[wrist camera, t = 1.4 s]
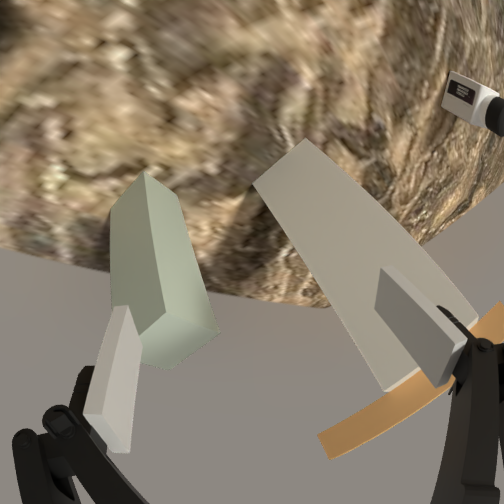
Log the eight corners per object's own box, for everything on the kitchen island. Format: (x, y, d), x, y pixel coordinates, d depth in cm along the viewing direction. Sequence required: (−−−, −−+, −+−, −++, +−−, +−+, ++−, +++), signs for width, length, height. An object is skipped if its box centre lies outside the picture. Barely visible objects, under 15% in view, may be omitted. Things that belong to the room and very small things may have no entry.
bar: (317, 434, 26) (329, 460, 24) (499, 300, 21) (518, 324, 19) (328, 432, 28) (340, 455, 26) (496, 309, 23) (512, 331, 21)
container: (439, 106, 44) (494, 139, 36) (449, 69, 39) (507, 98, 30) (460, 112, 47) (510, 143, 38) (469, 78, 41) (522, 106, 33)
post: (252, 183, 44) (383, 391, 22) (305, 137, 41) (478, 315, 20) (281, 212, 49) (399, 393, 28) (329, 171, 47) (473, 334, 25)
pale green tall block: (110, 208, 38) (116, 356, 23) (143, 170, 37) (166, 312, 22) (144, 229, 42) (169, 370, 28) (177, 195, 41) (220, 333, 26)
